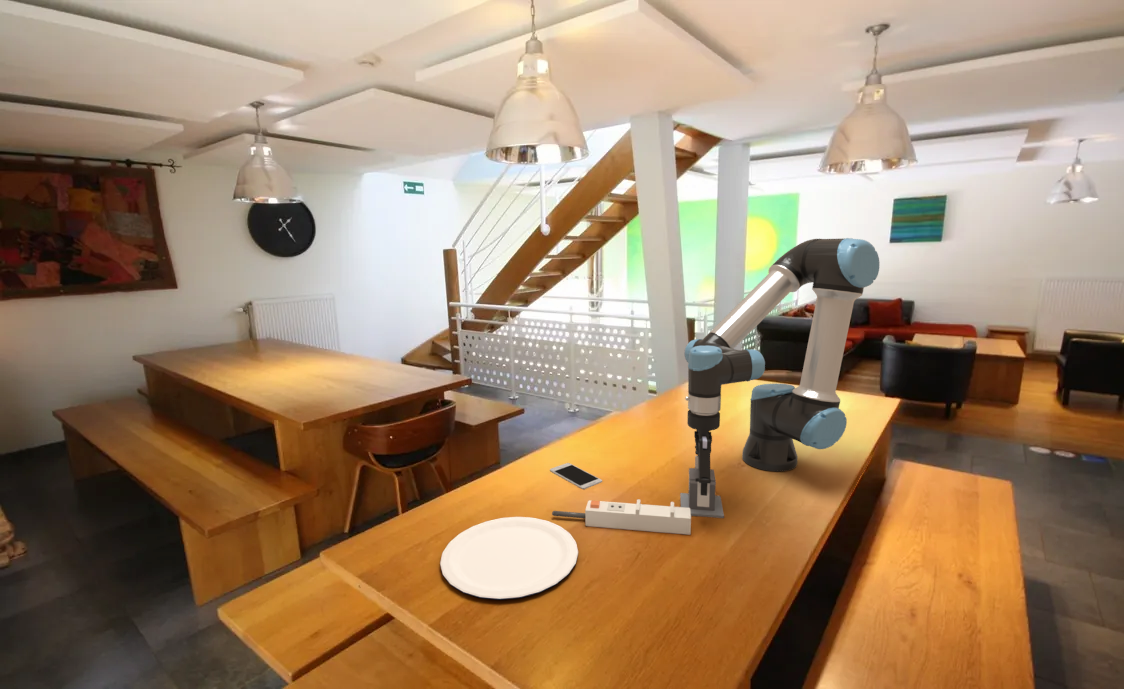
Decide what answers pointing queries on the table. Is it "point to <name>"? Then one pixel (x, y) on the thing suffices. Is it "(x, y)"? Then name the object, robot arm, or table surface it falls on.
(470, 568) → the plate
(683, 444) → the table surface
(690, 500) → the grey block
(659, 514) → the power strip
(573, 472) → the smartphone
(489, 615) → the table surface
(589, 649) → the table surface
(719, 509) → the mat
